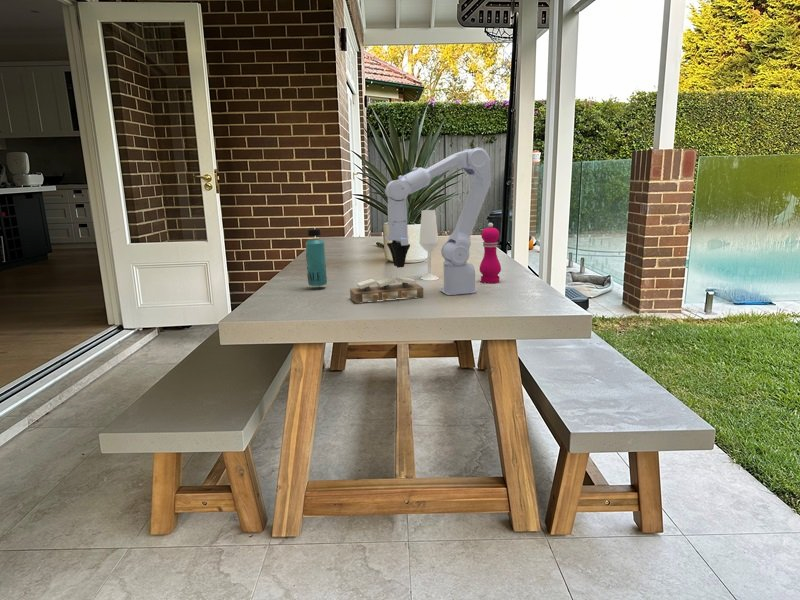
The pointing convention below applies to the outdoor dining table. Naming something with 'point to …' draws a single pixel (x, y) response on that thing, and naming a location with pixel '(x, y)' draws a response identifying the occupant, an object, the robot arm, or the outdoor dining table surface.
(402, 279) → the switch
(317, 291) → the outdoor dining table surface
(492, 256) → the pepper mill
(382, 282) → the switch
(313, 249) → the beverage bottle
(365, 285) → the switch
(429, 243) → the champagne flute
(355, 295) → the switch unit
